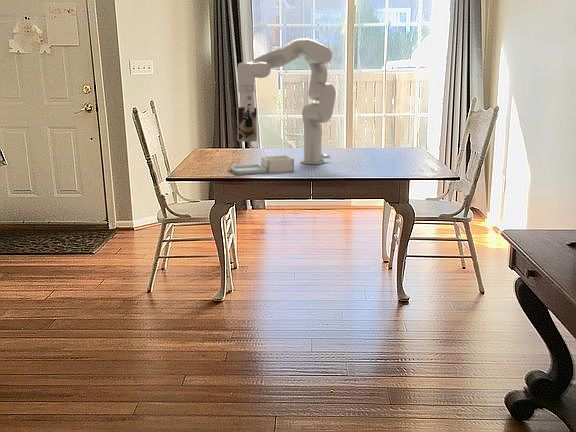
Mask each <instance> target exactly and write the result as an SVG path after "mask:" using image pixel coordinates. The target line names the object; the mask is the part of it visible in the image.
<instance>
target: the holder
mask: <svg viewBox="0 0 576 432" xmlns="http://www.w3.org/2000/svg"><path fill="white" fill-rule="evenodd" d="M260 161H261V163H260V166H262V167H264V168H265V169H266V173H282V172H292V171H295V158H293V157H291V156H289V155H286V154H285V155H284V154H283V155H281V154H280V155H270V156H267V155H266V156H265V155H264V156H260Z"/></svg>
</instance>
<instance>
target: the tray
mask: <svg viewBox="0 0 576 432" xmlns="http://www.w3.org/2000/svg"><path fill="white" fill-rule="evenodd" d="M229 170H230V171H231V172H232V173H233V174H235V175H236V176H245V175H257V174H259V175H260V174H267V172H266V169H265V168H264V167H262V166H261V164H259V163H257V164H243V165H242V164H241V165H230V166H229Z"/></svg>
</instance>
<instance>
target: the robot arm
mask: <svg viewBox="0 0 576 432" xmlns="http://www.w3.org/2000/svg"><path fill="white" fill-rule="evenodd" d="M300 57H301V58H302V57H304V59H305V61H306V62H307V63H308V65H309V67H310V72H311V73H310V74H311V75H310V81H309V87H308V91H307V92H308V98H309V99H311V100H312V101H316V102H309V103H307V104H305V105H304V106H303V108H302V110H301V111H302V112H301V113H302V120H303V121H302V122H303V158H302V159H301V160H300V163H301V164H303V165H304V164H305V165H320V164H324V163H325V159H331V158H330V157H331V156H330V154H323V153H322V142H323V141H322V140H323V137H322V136H323V135H322V134H323V130H322V129H323V128H322V125H321V123H323V124H324V123H327V122H329V121H330V120H331V119H332V116H333V112H334V107H335V101H336V94H337V93H336V92H337V91H336V89H335V86H334V85H333V83H330V82H328V81H327V80H328V68H327V66H326V65H327V64H328V63H330V62H331V60H332V58H333V53H332V50H331V49H330V48H329V46H326V45H325V44H322V43H320V42H317V41H316V40H313V39H311V38H296V39H293V40H291V41H290V42H288V43H286V44H284V45H282V46H281V47H278V48H277V49H275V50H273V51H269V52H268V53H265V54H263V55H262V54H261V55H260V56H258V57H255V58H254V59H252V60H251V61H249V62H245V61H244V62H239V63H238V65H237V82H238V83H237V84H238V87H237V89H238V93H239V107H241V108H244V113H246V127H252V112H253V113H254V112H255V110H254V107H255V98H254V93H255V79H256V78H258V79H265V78H267V77H268V76H269V75H270V74H271V72H272V71H271V70H272V69H275V68H280V67H284V66H287V65H288V64H290V63H291V62H293V61H295V60H296V59H298V58H300ZM317 101H318V103H317ZM247 111H249V112H247ZM247 114H248V115H247Z"/></svg>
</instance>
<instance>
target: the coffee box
mask: <svg viewBox="0 0 576 432" xmlns="http://www.w3.org/2000/svg"><path fill="white" fill-rule="evenodd" d="M254 110H255V112H254V113H253V112H252V127H246V113H244V108H241V107H240V106H239V107H236V125H237V126H236V129H237V131H236V133H237V135H236V136H237V137H236V138H237V141H238V142H258V140H257V139H258V137H257V135H258V133H257V132H258V130H257V129H258V127H257V126H258V124H257V122H258V121H257V116H258V115H257V108H256V107H255V106H254ZM247 112H249V111H247ZM247 115H248V114H247Z"/></svg>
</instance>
